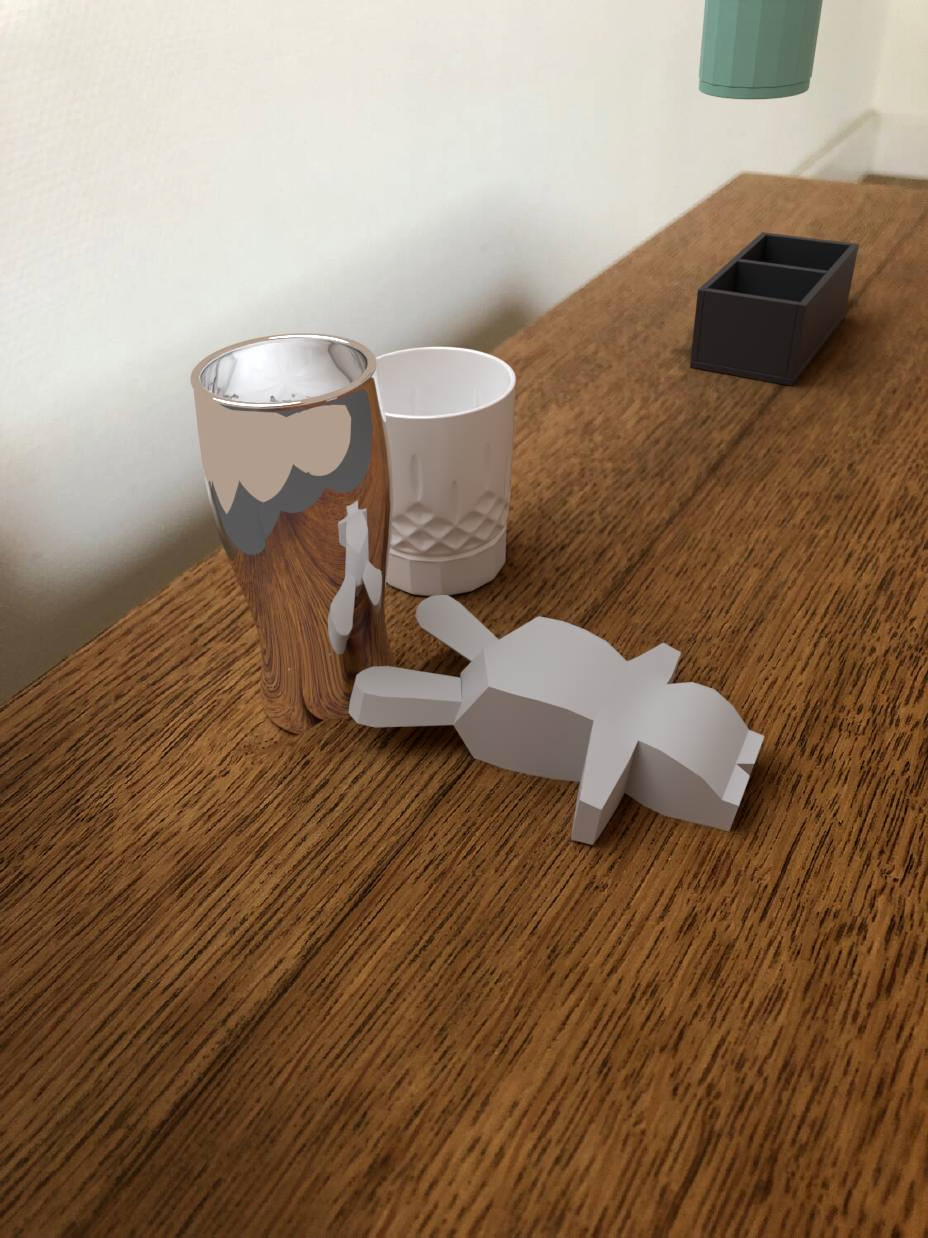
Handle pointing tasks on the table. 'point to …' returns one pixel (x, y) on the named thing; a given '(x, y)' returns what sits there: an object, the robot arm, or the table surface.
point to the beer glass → (302, 510)
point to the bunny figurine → (574, 717)
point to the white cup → (448, 466)
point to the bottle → (758, 47)
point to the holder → (772, 307)
